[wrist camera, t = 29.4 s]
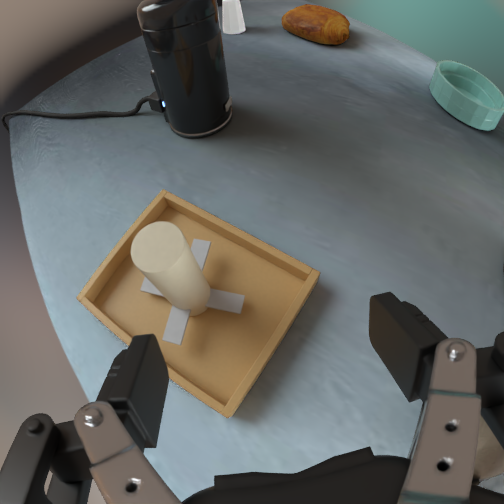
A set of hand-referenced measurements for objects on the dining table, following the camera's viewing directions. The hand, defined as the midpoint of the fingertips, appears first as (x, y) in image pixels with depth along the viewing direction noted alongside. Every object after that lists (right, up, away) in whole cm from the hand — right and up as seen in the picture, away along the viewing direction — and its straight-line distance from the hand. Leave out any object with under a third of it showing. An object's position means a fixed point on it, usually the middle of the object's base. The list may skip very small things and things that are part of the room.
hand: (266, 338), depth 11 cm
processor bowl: (+39, +31, +33) cm, 60 cm away
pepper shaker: (-4, +53, +47) cm, 71 cm away
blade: (-6, -1, +20) cm, 21 cm away
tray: (-6, -1, +20) cm, 22 cm away
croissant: (+14, +51, +45) cm, 70 cm away
